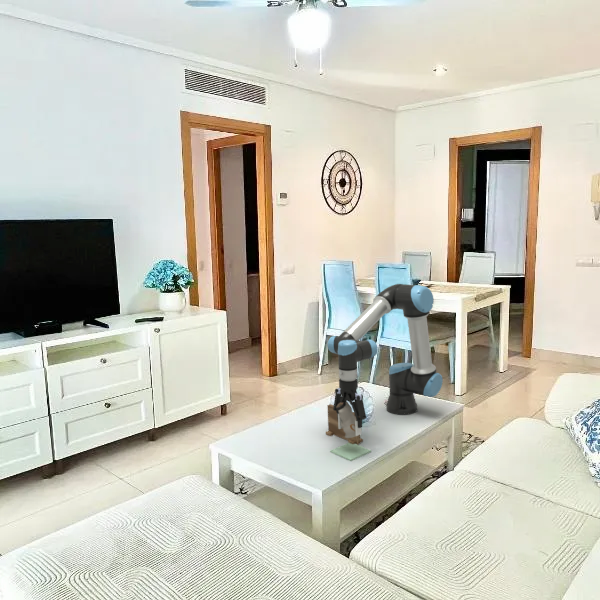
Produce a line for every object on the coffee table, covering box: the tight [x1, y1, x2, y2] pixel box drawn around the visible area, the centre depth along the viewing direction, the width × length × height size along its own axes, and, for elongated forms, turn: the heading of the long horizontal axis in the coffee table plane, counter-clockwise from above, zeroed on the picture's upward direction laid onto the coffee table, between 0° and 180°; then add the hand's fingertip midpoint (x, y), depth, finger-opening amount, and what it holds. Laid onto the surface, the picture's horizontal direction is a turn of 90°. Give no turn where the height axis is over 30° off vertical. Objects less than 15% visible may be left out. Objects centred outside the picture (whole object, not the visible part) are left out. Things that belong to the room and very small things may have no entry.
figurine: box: [336, 401, 356, 438], centre depth 221 cm, size 9×10×15 cm
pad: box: [329, 442, 372, 462], centre depth 223 cm, size 12×12×1 cm
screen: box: [325, 403, 364, 445], centre depth 236 cm, size 6×18×13 cm, turn 40°
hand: (349, 431), depth 222 cm, fingers closed on figurine, 9 cm apart
